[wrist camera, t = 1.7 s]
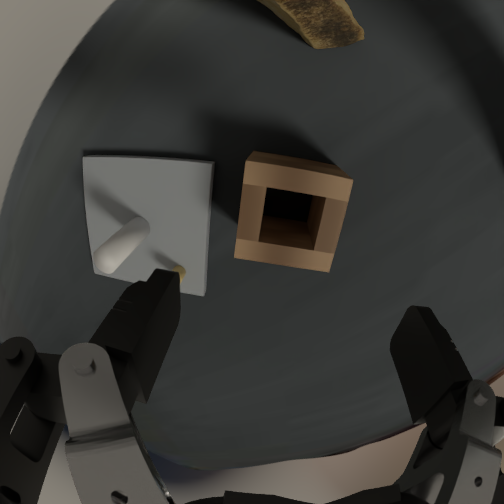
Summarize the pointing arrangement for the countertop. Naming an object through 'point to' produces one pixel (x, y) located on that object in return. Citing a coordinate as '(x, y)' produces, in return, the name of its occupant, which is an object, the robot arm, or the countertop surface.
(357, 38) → the rock
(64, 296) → the countertop surface
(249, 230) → the wooden square frame
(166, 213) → the post board
